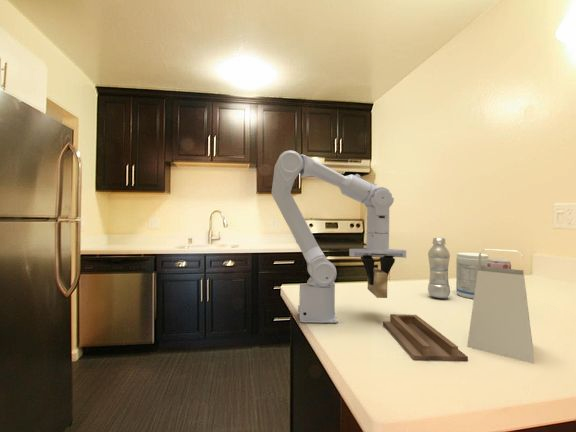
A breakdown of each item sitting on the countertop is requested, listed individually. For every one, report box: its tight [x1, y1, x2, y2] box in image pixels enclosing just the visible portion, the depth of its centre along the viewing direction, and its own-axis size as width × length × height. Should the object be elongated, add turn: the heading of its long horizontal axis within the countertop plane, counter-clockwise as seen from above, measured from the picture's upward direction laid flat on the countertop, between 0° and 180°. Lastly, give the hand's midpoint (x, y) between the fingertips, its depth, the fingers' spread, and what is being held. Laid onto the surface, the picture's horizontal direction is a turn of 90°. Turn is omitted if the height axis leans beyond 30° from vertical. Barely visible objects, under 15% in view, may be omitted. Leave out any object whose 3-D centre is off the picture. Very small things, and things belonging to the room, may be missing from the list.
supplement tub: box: [455, 251, 489, 300], centre depth 100 cm, size 10×10×15 cm
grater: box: [466, 248, 535, 364], centre depth 61 cm, size 10×10×20 cm
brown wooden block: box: [367, 267, 389, 299], centre depth 77 cm, size 3×9×6 cm, turn 0°
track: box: [382, 313, 469, 362], centre depth 63 cm, size 10×18×3 cm, turn 179°
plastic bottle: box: [427, 237, 451, 300], centre depth 98 cm, size 6×7×20 cm
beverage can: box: [487, 257, 512, 269], centre depth 83 cm, size 6×6×15 cm
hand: (377, 284), depth 77 cm, fingers closed on brown wooden block, 3 cm apart
